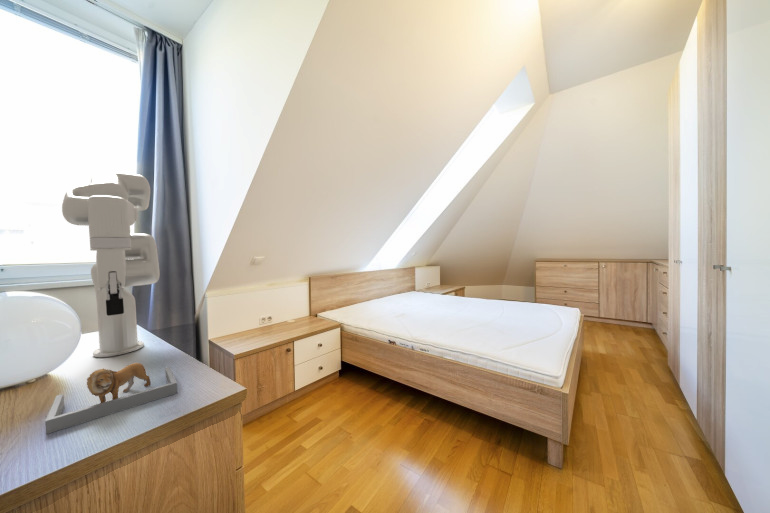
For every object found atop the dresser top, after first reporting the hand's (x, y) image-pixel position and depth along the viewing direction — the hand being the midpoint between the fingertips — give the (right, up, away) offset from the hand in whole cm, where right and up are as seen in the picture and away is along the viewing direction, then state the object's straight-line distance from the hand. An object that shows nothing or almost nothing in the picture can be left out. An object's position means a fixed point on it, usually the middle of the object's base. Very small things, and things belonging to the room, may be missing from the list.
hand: (115, 314), depth 72 cm
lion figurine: (+9, -18, -8) cm, 22 cm away
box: (+9, -18, -8) cm, 22 cm away
